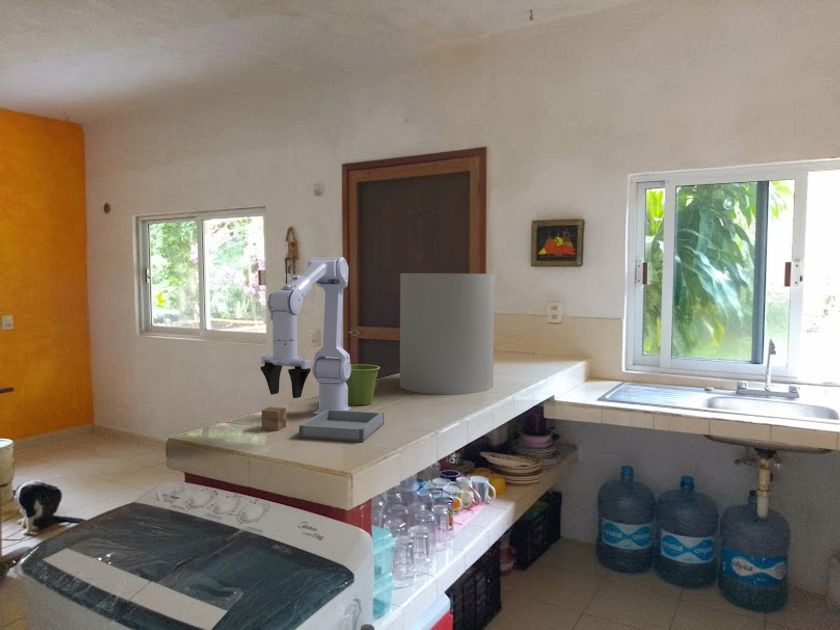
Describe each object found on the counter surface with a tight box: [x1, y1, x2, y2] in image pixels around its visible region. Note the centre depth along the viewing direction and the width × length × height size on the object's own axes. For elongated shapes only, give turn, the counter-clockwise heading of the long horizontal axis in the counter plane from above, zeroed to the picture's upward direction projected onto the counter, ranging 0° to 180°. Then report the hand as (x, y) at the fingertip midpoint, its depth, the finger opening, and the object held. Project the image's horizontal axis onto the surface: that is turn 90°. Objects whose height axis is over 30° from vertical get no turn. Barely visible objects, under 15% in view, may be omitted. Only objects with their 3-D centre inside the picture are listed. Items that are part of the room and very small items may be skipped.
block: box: [261, 406, 287, 432], centre depth 152 cm, size 4×4×5 cm
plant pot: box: [345, 363, 381, 406], centre depth 182 cm, size 12×12×11 cm
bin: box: [298, 409, 385, 443], centre depth 150 cm, size 18×16×3 cm
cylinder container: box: [399, 272, 496, 395], centre depth 213 cm, size 34×33×40 cm
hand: (285, 395), depth 145 cm, fingers open, 7 cm apart
